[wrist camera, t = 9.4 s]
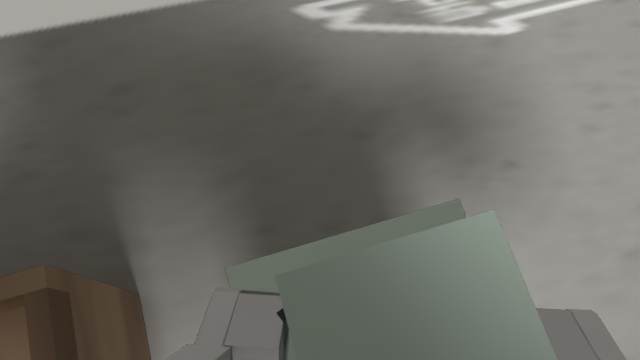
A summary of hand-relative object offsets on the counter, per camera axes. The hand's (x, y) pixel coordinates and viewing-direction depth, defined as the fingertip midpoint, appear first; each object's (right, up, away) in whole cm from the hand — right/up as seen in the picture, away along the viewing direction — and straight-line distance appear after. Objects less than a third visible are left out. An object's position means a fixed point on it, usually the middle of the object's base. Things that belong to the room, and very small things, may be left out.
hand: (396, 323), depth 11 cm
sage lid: (0, -2, +3) cm, 4 cm away
